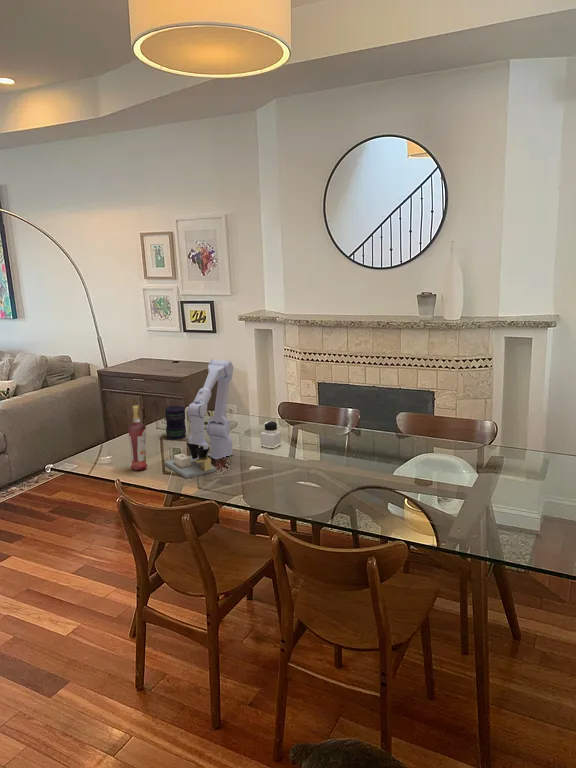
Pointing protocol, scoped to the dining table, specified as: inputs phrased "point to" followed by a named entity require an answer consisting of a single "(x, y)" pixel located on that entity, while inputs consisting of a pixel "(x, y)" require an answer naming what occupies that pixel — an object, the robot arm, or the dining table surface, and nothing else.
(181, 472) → the panel
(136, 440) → the liquor
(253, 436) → the dining table surface
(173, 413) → the storage jar
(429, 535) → the dining table surface
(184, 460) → the cover
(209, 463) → the wooden l-shaped block
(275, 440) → the medicine bottle
